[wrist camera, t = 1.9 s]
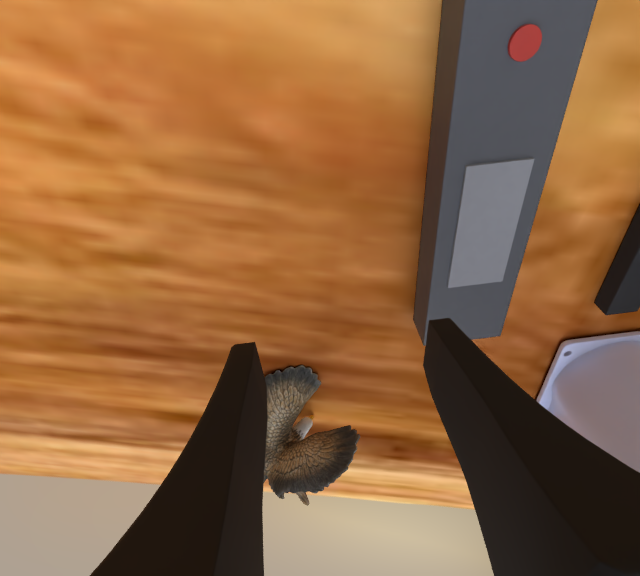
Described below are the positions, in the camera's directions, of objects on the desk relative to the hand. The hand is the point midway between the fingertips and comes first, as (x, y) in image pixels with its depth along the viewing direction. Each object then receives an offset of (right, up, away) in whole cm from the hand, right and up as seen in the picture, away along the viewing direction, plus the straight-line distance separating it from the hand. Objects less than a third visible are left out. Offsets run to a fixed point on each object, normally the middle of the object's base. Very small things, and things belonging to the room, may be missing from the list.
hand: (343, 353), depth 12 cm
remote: (+7, +7, +7) cm, 12 cm away
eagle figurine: (-3, -7, +17) cm, 19 cm away
